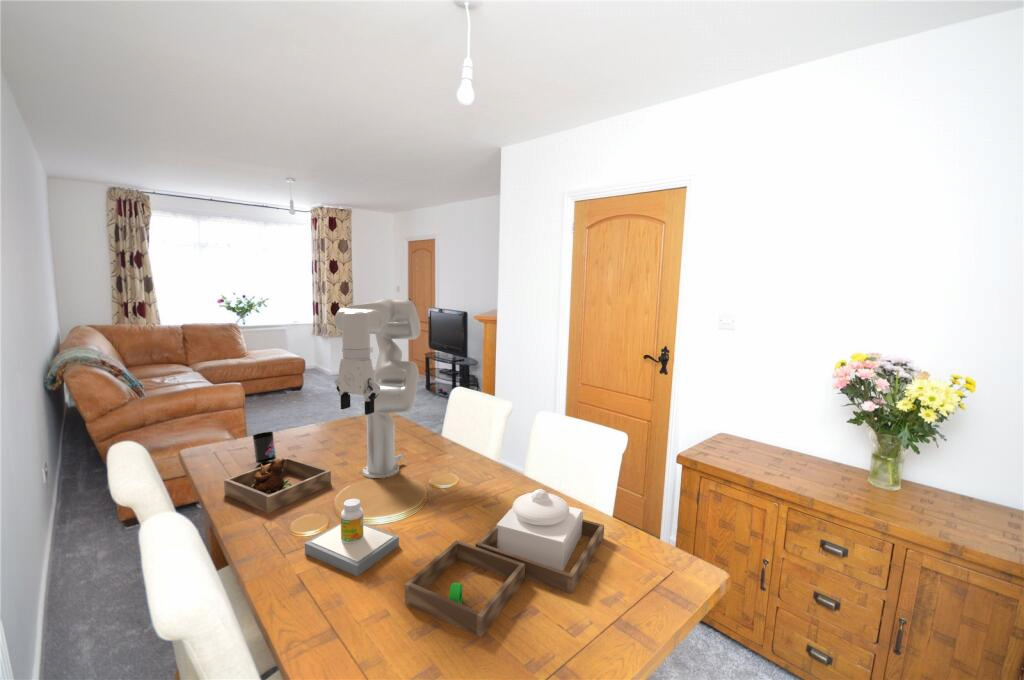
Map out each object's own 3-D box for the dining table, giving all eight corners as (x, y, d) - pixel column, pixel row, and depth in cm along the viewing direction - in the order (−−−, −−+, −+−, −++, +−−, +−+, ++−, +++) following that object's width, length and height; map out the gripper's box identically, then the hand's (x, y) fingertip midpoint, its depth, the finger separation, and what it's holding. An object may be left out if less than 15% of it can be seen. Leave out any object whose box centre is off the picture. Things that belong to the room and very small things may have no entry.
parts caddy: (456, 558, 112) (456, 540, 111) (524, 584, 103) (525, 564, 102) (404, 605, 95) (404, 583, 94) (481, 640, 86) (481, 617, 86)
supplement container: (263, 461, 160) (259, 432, 162) (251, 465, 163) (248, 436, 165) (280, 458, 166) (277, 430, 168) (269, 462, 169) (265, 434, 171)
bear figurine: (286, 479, 154) (285, 445, 152) (298, 495, 142) (297, 459, 141) (240, 490, 145) (238, 454, 143) (249, 508, 134) (247, 469, 132)
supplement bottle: (338, 544, 111) (337, 507, 109) (344, 532, 116) (343, 497, 115) (360, 544, 111) (360, 507, 110) (365, 532, 116) (365, 497, 115)
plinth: (349, 528, 124) (348, 517, 124) (398, 547, 116) (398, 536, 115) (304, 554, 112) (304, 542, 111) (357, 577, 103) (357, 565, 103)
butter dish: (581, 539, 123) (584, 483, 121) (562, 577, 106) (565, 514, 104) (522, 523, 129) (524, 471, 128) (495, 557, 113) (497, 497, 111)
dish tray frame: (520, 518, 132) (521, 502, 132) (603, 542, 121) (604, 525, 120) (475, 563, 110) (475, 544, 110) (571, 598, 99) (572, 577, 98)
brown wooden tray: (288, 470, 160) (287, 457, 159) (330, 484, 150) (330, 470, 149) (224, 495, 141) (224, 479, 140) (269, 513, 131) (268, 497, 130)
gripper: (325, 352, 131) (326, 409, 133) (368, 358, 123) (369, 419, 125) (345, 349, 137) (346, 403, 139) (388, 355, 129) (388, 412, 132)
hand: (357, 410), depth 132 cm, fingers open, 9 cm apart
